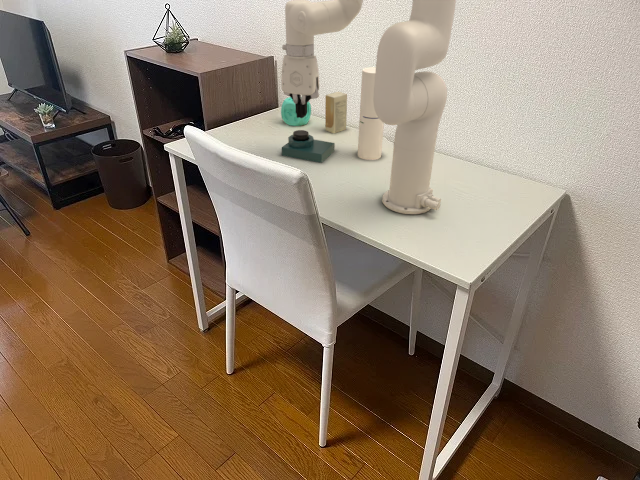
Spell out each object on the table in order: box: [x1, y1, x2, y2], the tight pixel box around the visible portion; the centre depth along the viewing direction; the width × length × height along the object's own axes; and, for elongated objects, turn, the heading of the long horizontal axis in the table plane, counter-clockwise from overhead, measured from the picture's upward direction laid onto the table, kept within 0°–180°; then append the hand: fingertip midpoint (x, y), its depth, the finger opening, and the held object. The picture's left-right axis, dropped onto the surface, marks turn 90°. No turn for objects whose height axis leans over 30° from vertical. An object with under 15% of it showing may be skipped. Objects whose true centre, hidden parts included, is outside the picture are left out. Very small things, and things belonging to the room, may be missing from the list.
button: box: [292, 129, 310, 141], centre depth 147 cm, size 5×5×2 cm
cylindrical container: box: [357, 66, 385, 161], centre depth 141 cm, size 7×7×25 cm
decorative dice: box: [280, 96, 312, 127], centre depth 170 cm, size 8×8×8 cm
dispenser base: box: [281, 134, 336, 164], centre depth 148 cm, size 13×10×4 cm
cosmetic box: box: [324, 91, 348, 134], centre depth 163 cm, size 6×4×12 cm
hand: (301, 116), depth 143 cm, fingers closed
